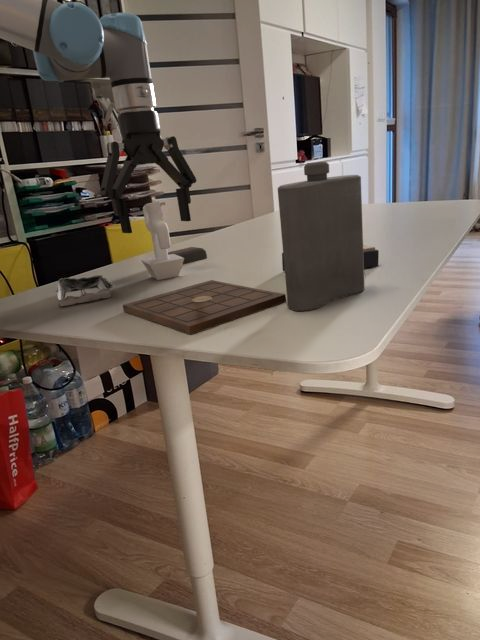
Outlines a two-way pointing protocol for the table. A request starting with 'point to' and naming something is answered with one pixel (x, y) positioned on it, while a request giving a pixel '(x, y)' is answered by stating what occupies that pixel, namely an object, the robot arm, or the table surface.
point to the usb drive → (190, 254)
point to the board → (203, 305)
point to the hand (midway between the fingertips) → (157, 226)
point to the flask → (321, 237)
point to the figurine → (160, 245)
